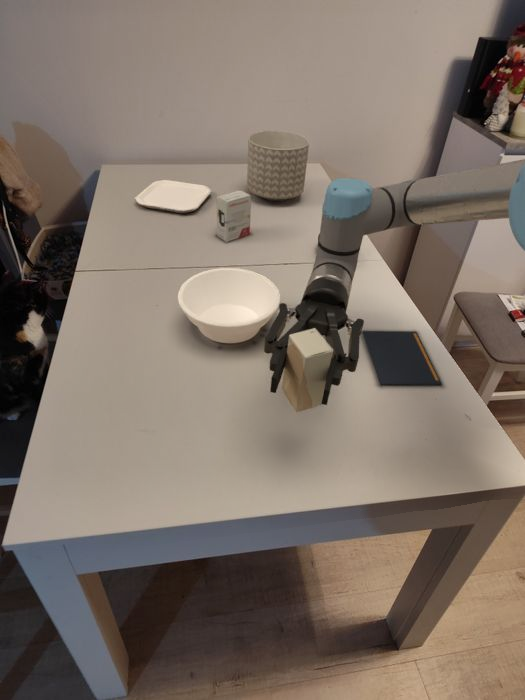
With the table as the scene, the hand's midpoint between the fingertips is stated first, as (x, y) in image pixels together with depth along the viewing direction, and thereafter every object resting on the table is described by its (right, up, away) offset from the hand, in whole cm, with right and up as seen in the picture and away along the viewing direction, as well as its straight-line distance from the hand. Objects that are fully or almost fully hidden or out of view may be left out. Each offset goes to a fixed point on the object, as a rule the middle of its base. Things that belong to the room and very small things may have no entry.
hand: (299, 391), depth 58 cm
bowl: (-12, +11, +38) cm, 42 cm away
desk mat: (+23, +4, +33) cm, 41 cm away
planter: (-1, +57, +93) cm, 109 cm away
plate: (-33, +54, +86) cm, 106 cm away
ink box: (-13, +38, +70) cm, 81 cm away
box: (+1, -2, +8) cm, 8 cm away
